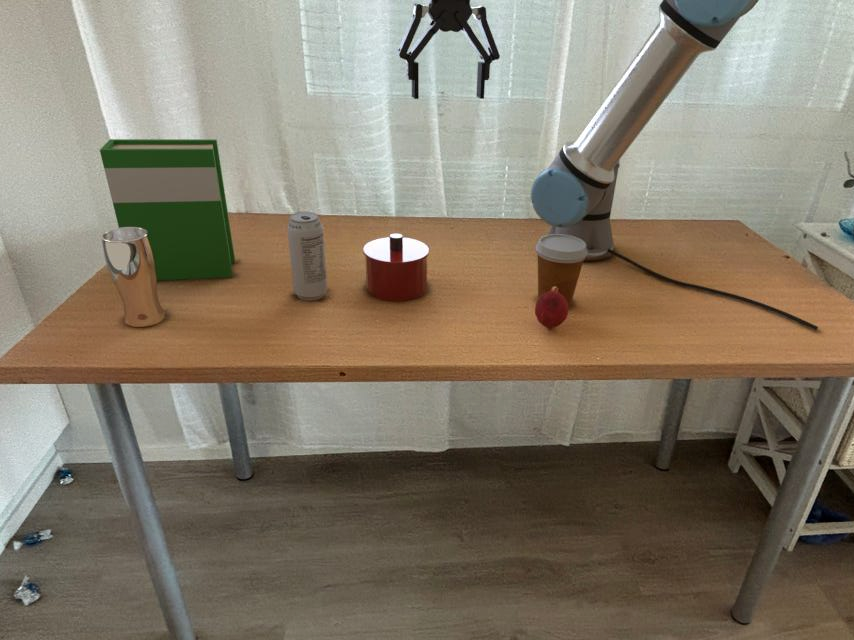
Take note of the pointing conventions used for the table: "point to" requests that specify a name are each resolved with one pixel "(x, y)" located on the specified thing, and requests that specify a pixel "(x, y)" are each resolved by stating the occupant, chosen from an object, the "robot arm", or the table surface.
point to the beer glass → (134, 274)
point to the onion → (551, 308)
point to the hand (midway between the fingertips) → (448, 97)
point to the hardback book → (173, 202)
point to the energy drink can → (307, 255)
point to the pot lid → (396, 250)
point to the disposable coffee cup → (559, 263)
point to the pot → (396, 280)
